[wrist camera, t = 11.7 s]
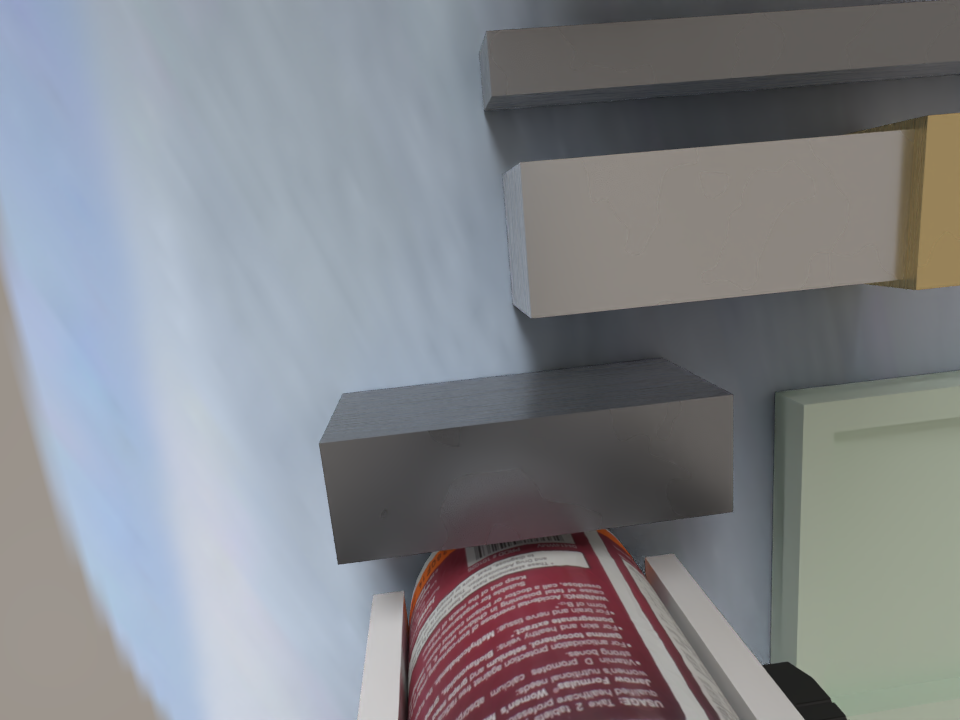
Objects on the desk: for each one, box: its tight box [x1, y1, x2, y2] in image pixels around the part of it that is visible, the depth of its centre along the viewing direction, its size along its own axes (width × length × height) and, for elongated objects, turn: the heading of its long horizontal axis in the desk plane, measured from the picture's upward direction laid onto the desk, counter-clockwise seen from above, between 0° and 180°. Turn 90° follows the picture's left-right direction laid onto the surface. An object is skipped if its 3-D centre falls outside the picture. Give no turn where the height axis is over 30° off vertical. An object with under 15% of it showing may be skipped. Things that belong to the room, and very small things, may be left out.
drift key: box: [503, 113, 960, 319], centre depth 13 cm, size 3×9×3 cm, turn 95°
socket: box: [319, 358, 733, 565], centre depth 14 cm, size 12×8×4 cm, turn 5°
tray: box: [770, 370, 960, 720], centre depth 17 cm, size 10×10×1 cm
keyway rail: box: [479, 0, 960, 111], centre depth 13 cm, size 1×15×2 cm, turn 95°
